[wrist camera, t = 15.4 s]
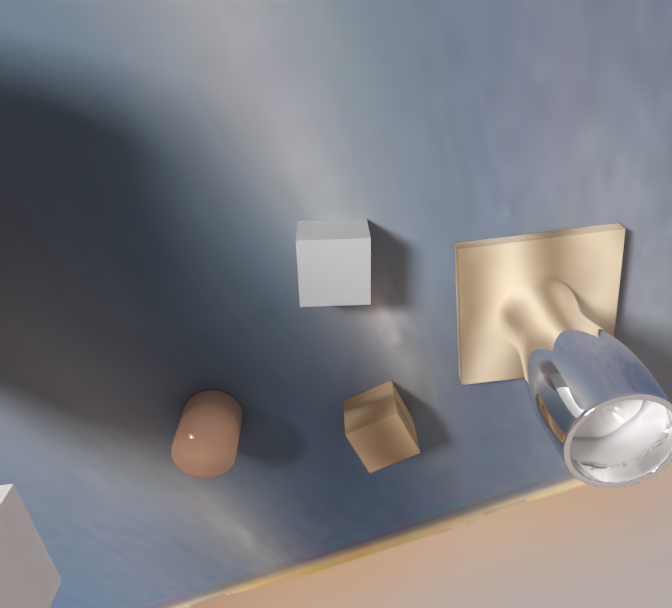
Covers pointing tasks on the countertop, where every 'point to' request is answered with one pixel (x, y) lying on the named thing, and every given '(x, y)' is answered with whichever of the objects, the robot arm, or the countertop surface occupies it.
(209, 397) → the peach rounded capsule
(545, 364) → the silver metal cup
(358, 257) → the grey plastic box
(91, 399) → the countertop surface
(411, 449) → the oak cube
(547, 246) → the beech board
